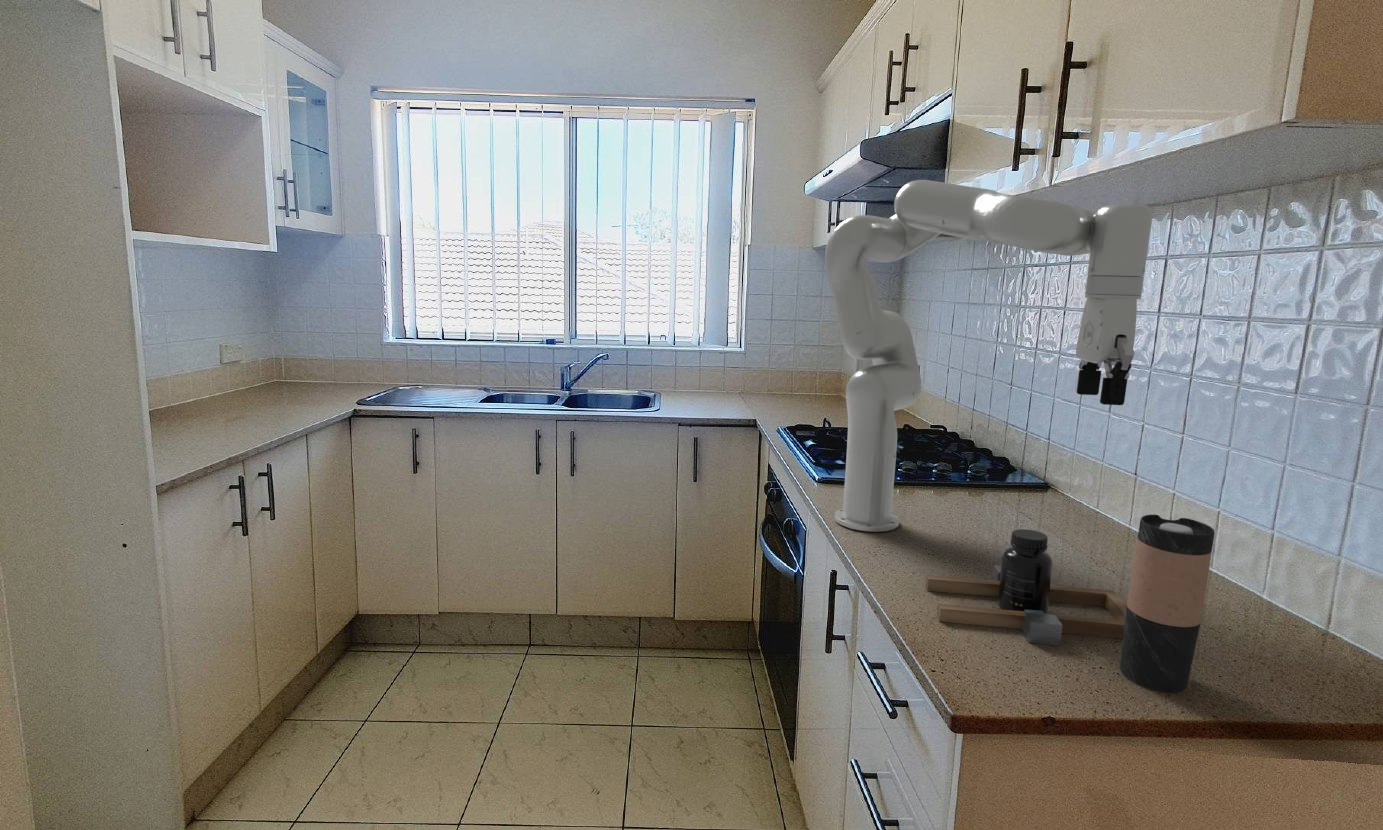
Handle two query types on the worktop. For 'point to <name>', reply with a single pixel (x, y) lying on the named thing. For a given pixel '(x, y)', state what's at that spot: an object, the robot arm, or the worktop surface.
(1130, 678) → the travel mug
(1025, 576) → the supplement bottle
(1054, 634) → the pivot blocks
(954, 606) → the walnut rails
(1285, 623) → the worktop surface
